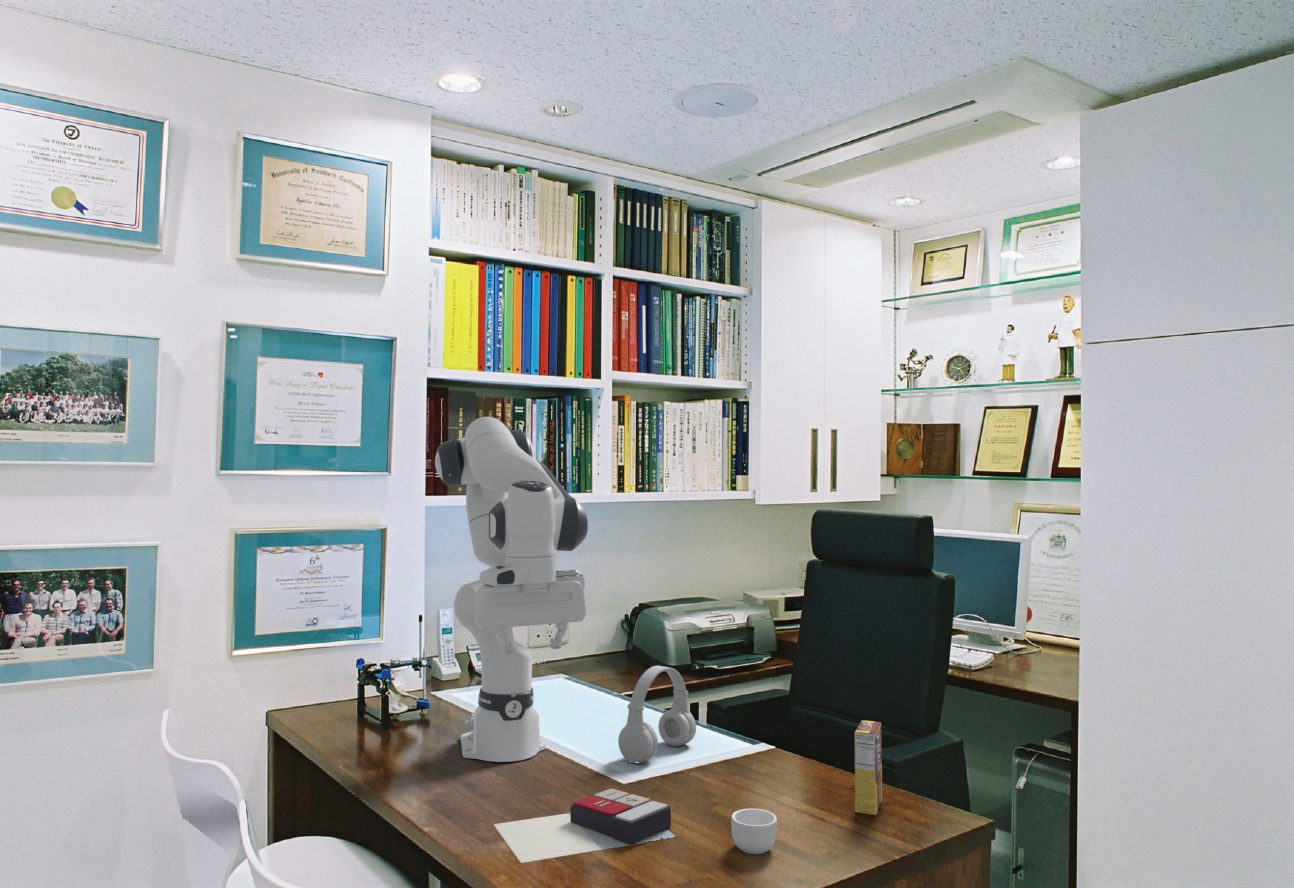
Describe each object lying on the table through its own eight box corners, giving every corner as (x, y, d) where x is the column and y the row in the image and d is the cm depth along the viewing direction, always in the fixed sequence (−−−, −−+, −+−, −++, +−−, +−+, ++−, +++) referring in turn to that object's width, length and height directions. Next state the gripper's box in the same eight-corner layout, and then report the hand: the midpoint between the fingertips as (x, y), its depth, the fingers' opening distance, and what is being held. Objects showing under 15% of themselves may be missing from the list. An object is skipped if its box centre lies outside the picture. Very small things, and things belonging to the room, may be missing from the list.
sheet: (493, 825, 163) (493, 824, 163) (636, 804, 175) (636, 803, 175) (521, 863, 148) (521, 862, 148) (676, 837, 159) (676, 836, 159)
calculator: (610, 785, 173) (671, 801, 164) (611, 808, 173) (672, 826, 163) (569, 800, 165) (630, 819, 155) (569, 825, 165) (631, 844, 155)
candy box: (860, 796, 181) (861, 719, 181) (882, 800, 179) (883, 721, 180) (852, 812, 173) (854, 730, 173) (876, 815, 171) (877, 733, 171)
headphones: (667, 739, 217) (669, 657, 217) (697, 746, 212) (699, 662, 212) (615, 760, 200) (617, 671, 201) (647, 768, 195) (648, 677, 196)
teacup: (766, 862, 150) (767, 829, 150) (723, 852, 154) (724, 820, 154) (787, 840, 159) (787, 809, 159) (745, 831, 162) (746, 801, 163)
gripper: (577, 568, 170) (577, 643, 170) (470, 573, 161) (470, 653, 160) (591, 570, 165) (591, 648, 164) (482, 576, 155) (482, 658, 154)
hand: (531, 650), depth 162 cm, fingers open, 8 cm apart
